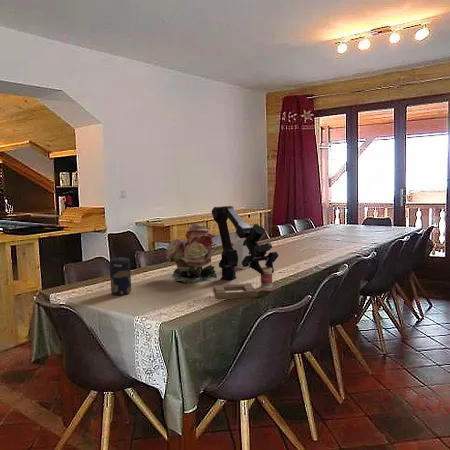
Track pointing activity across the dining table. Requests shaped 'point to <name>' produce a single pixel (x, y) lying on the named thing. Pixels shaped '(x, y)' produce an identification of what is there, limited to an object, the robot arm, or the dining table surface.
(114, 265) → the dark blue canister
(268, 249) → the robot arm
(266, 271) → the red and beige cylinder
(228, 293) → the brown flat piece
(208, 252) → the rose bouquet
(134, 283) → the dining table surface
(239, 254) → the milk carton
